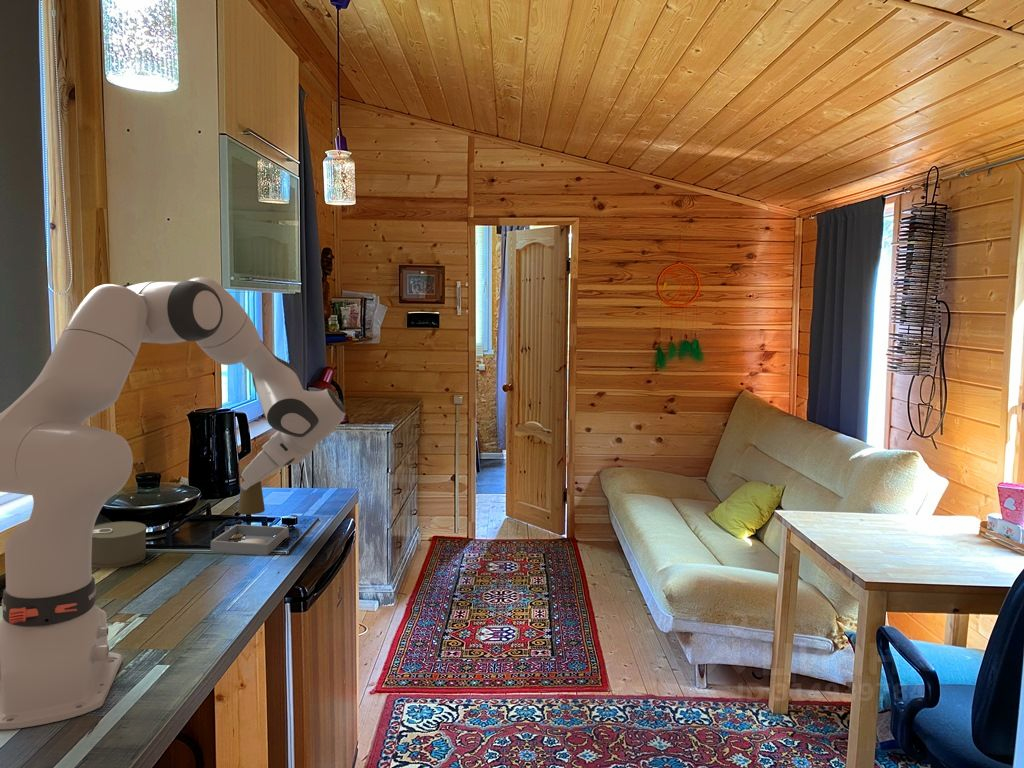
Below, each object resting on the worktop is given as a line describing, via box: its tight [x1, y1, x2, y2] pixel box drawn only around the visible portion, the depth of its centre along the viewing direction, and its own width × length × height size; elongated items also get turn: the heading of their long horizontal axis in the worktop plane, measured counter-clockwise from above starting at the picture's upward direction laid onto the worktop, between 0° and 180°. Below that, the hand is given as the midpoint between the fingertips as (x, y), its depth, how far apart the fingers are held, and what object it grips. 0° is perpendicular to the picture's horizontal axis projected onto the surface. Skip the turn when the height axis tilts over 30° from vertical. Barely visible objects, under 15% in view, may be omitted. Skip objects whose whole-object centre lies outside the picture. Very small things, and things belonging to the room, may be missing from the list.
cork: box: [237, 463, 266, 515], centre depth 174 cm, size 6×6×11 cm
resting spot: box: [238, 539, 267, 544], centre depth 175 cm, size 7×7×1 cm
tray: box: [210, 523, 290, 556], centre depth 175 cm, size 13×13×3 cm
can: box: [92, 520, 147, 569], centre depth 163 cm, size 12×12×7 cm
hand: (248, 484), depth 174 cm, fingers closed on cork, 4 cm apart
